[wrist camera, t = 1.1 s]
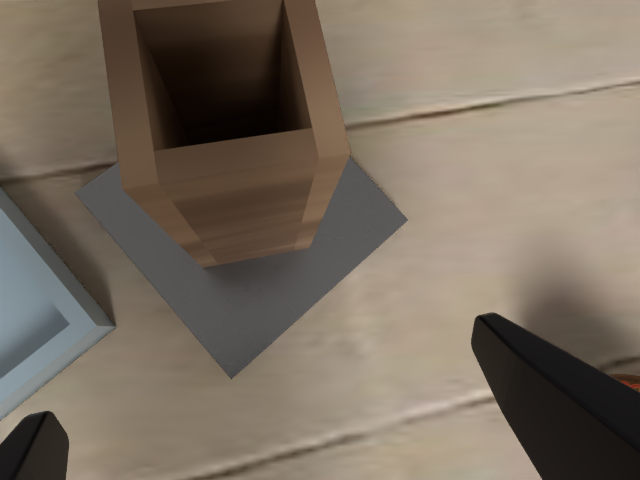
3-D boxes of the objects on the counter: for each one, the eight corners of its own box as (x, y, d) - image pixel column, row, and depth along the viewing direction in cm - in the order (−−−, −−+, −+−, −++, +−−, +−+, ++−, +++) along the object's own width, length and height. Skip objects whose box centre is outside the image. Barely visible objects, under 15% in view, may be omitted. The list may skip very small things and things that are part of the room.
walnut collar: (309, 248, 22) (350, 152, 11) (202, 267, 22) (122, 188, 10) (288, 150, 23) (306, -34, 12) (186, 165, 23) (96, -14, 11)
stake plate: (233, 376, 22) (222, 389, 17) (84, 200, 23) (31, 161, 18) (401, 225, 24) (435, 196, 19) (261, 73, 26) (258, 8, 20)
